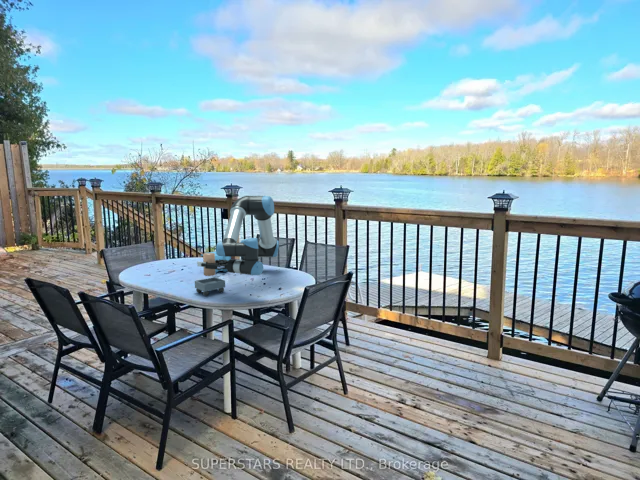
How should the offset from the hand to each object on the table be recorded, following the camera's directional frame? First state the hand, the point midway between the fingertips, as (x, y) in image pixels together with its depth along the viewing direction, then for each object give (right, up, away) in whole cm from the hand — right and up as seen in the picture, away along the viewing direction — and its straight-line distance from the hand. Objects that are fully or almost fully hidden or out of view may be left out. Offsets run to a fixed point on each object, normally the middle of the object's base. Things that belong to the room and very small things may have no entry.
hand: (201, 262), depth 225 cm
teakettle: (-3, -9, +51) cm, 52 cm away
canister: (+5, -7, -1) cm, 8 cm away
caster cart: (+4, -17, +1) cm, 18 cm away
